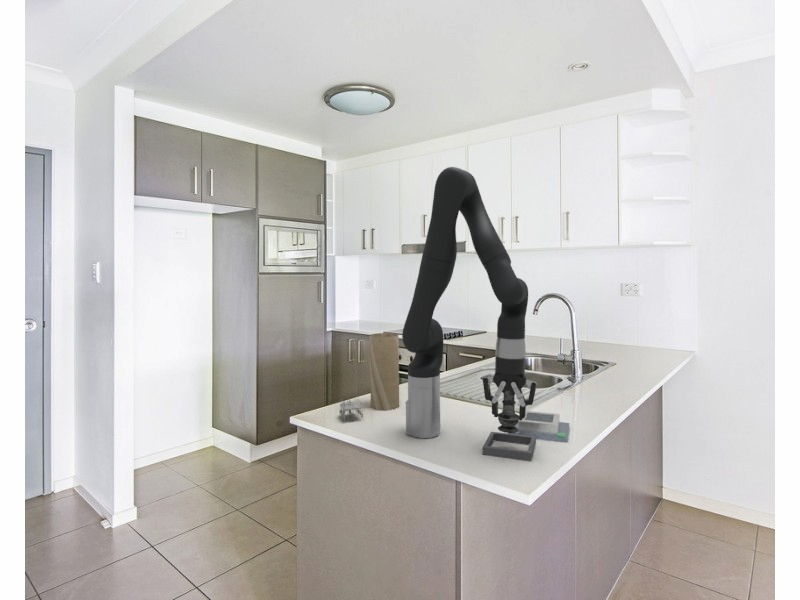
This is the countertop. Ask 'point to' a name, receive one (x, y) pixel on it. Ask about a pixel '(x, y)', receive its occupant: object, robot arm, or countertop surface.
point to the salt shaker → (508, 414)
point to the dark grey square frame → (509, 452)
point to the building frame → (350, 408)
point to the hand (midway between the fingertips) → (508, 417)
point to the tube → (384, 371)
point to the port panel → (543, 426)
